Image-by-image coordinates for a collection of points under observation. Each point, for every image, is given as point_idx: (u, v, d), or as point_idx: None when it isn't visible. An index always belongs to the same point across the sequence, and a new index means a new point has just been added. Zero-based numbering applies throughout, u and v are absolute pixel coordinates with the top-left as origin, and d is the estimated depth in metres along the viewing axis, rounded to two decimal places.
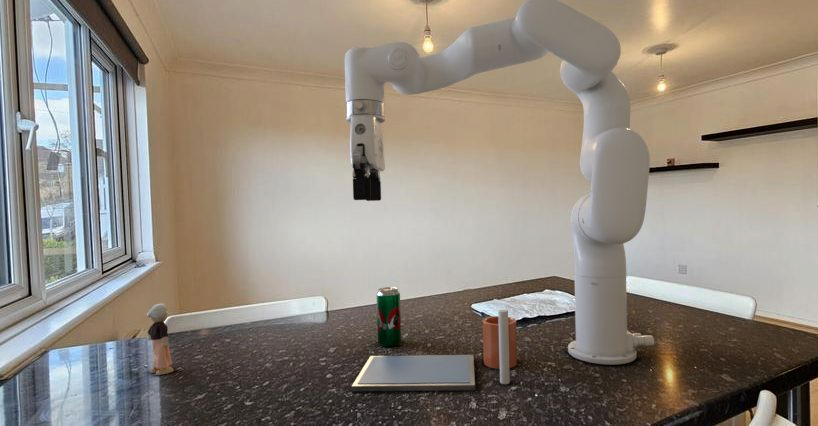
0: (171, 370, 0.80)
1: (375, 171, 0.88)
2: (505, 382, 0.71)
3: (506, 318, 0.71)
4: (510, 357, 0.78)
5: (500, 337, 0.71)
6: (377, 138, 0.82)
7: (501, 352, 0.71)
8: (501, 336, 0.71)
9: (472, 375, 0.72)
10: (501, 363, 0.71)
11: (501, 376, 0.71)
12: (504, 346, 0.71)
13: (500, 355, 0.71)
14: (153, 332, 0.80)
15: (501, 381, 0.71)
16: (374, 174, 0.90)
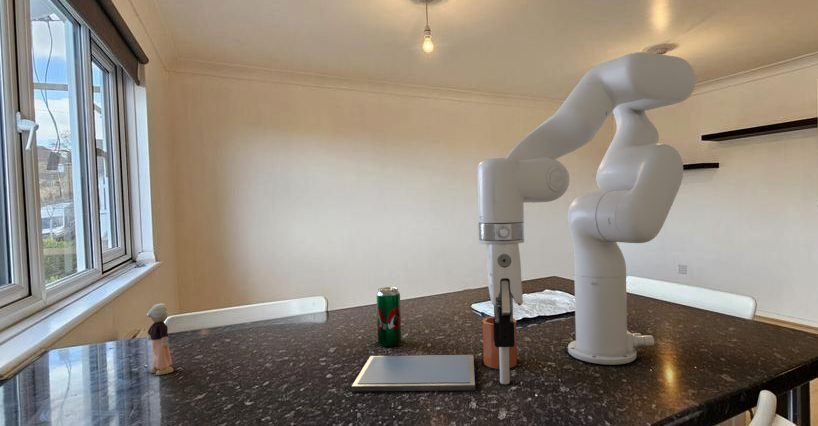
0: (171, 370, 0.80)
1: None
2: (505, 382, 0.71)
3: None
4: (510, 357, 0.78)
5: None
6: None
7: (501, 352, 0.71)
8: None
9: (472, 375, 0.72)
10: (501, 363, 0.71)
11: (501, 376, 0.71)
12: None
13: (500, 355, 0.71)
14: (153, 332, 0.80)
15: (501, 381, 0.71)
16: None
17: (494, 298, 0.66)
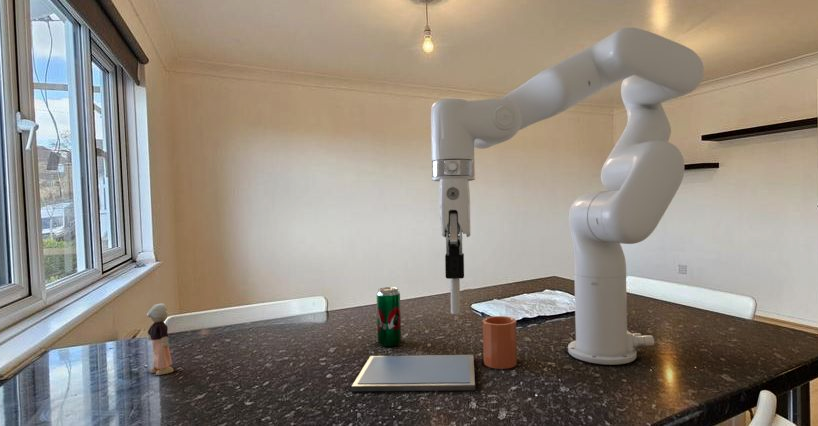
0: (171, 370, 0.80)
1: (459, 237, 0.76)
2: (455, 312, 0.75)
3: None
4: (510, 357, 0.78)
5: None
6: (469, 202, 0.72)
7: (451, 284, 0.75)
8: None
9: (472, 375, 0.72)
10: (452, 294, 0.75)
11: (452, 307, 0.75)
12: None
13: (451, 287, 0.75)
14: (153, 332, 0.80)
15: (452, 312, 0.75)
16: None
17: (443, 229, 0.70)
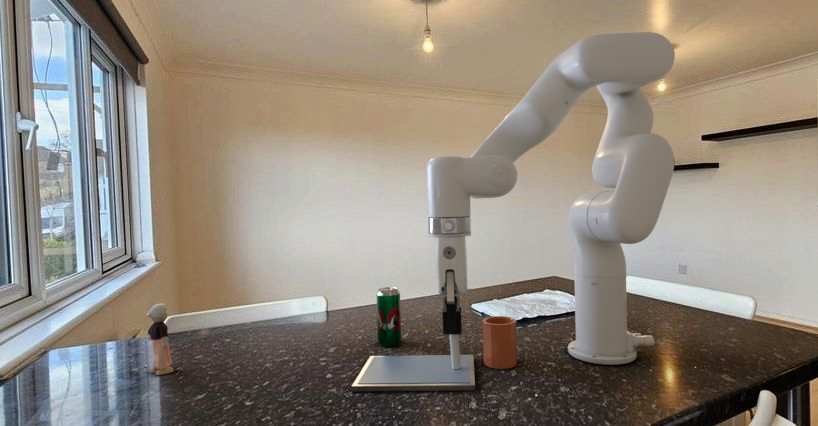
0: (171, 370, 0.80)
1: (456, 291, 0.77)
2: (456, 367, 0.75)
3: None
4: (510, 357, 0.78)
5: None
6: (466, 259, 0.73)
7: (450, 339, 0.75)
8: None
9: (472, 375, 0.72)
10: (451, 349, 0.75)
11: (452, 362, 0.75)
12: None
13: (450, 342, 0.75)
14: (153, 332, 0.80)
15: (453, 366, 0.75)
16: None
17: (440, 288, 0.71)
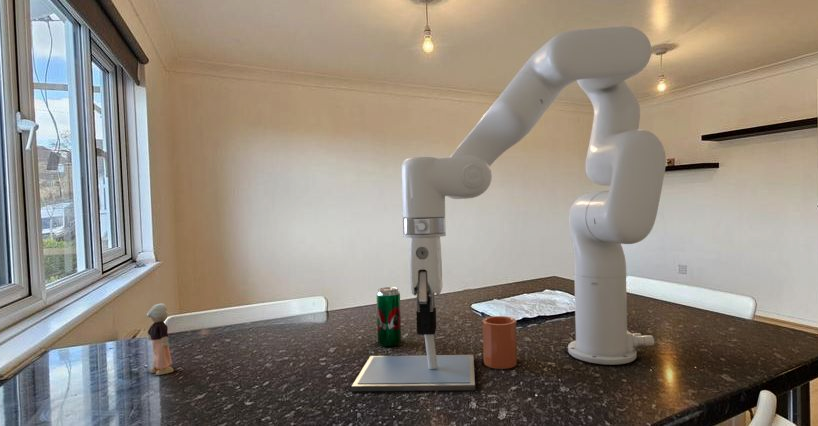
0: (171, 370, 0.80)
1: None
2: (432, 367, 0.75)
3: None
4: (510, 357, 0.78)
5: None
6: (439, 260, 0.73)
7: (426, 339, 0.75)
8: None
9: (472, 375, 0.72)
10: (427, 349, 0.75)
11: (428, 362, 0.75)
12: None
13: (425, 342, 0.75)
14: (153, 332, 0.80)
15: (429, 366, 0.75)
16: (428, 292, 0.78)
17: (412, 288, 0.71)
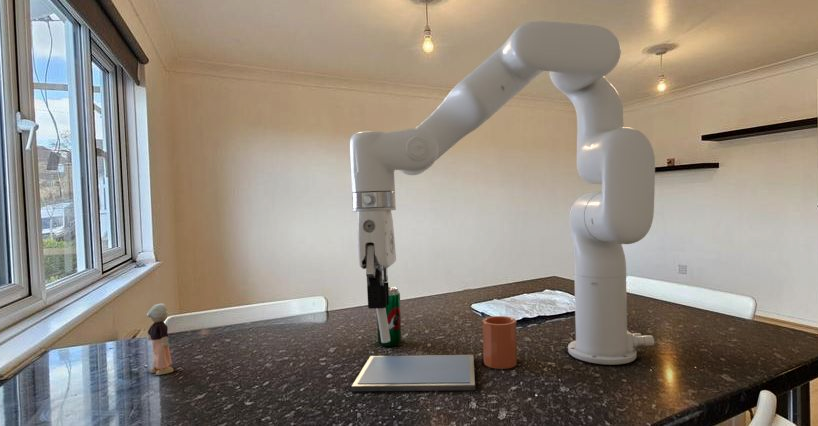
0: (171, 370, 0.80)
1: (383, 266, 0.77)
2: (385, 341, 0.75)
3: None
4: (510, 357, 0.78)
5: None
6: (388, 233, 0.73)
7: (377, 314, 0.76)
8: None
9: (472, 375, 0.72)
10: (379, 323, 0.76)
11: (381, 336, 0.76)
12: None
13: (378, 316, 0.76)
14: (153, 332, 0.80)
15: (381, 340, 0.76)
16: None
17: (360, 261, 0.71)
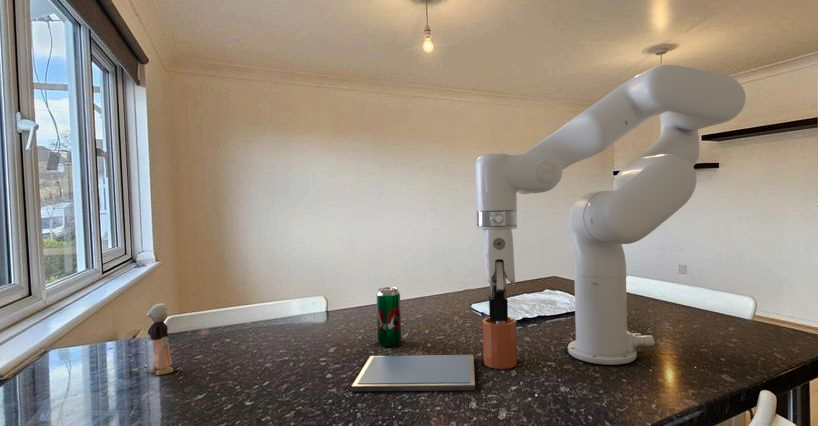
0: (171, 370, 0.80)
1: None
2: None
3: None
4: (510, 357, 0.78)
5: None
6: None
7: None
8: None
9: (472, 375, 0.72)
10: None
11: None
12: None
13: None
14: (153, 332, 0.80)
15: None
16: None
17: (490, 277, 0.75)
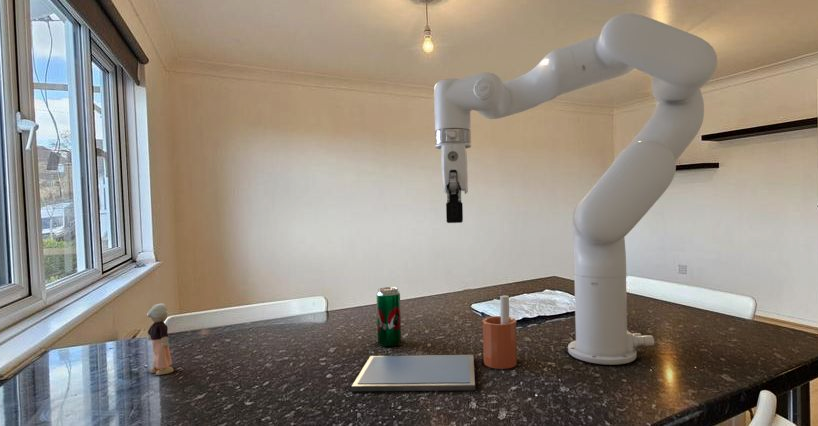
0: (171, 370, 0.80)
1: None
2: None
3: (507, 303, 0.80)
4: (510, 357, 0.78)
5: (502, 319, 0.80)
6: None
7: None
8: (503, 318, 0.80)
9: (472, 375, 0.72)
10: None
11: None
12: None
13: None
14: (153, 332, 0.80)
15: None
16: None
17: (445, 185, 0.85)
